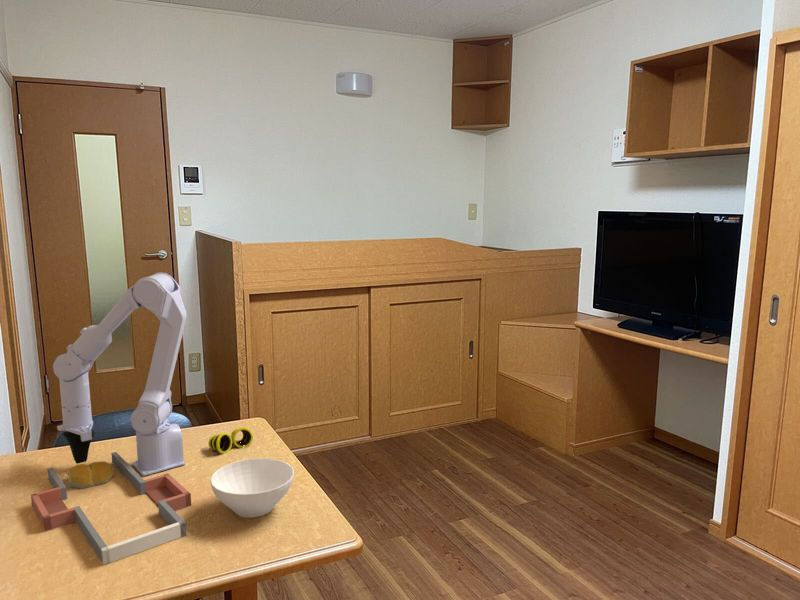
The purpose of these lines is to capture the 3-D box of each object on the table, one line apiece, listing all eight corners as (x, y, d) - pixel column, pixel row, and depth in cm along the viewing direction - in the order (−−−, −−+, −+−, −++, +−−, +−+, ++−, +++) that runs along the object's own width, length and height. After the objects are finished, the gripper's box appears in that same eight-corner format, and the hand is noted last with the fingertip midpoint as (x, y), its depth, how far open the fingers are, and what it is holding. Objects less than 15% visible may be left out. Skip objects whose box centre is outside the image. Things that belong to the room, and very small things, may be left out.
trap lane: (139, 456, 142) (138, 446, 142) (212, 525, 112) (212, 513, 111) (21, 486, 127) (20, 475, 126) (70, 577, 96) (68, 562, 96)
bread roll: (116, 482, 129) (115, 465, 129) (69, 493, 124) (67, 475, 124) (111, 468, 136) (109, 451, 135) (66, 478, 131) (64, 460, 131)
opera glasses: (244, 443, 153) (241, 424, 153) (254, 445, 149) (252, 425, 149) (208, 454, 146) (205, 433, 146) (218, 456, 142) (215, 435, 142)
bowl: (241, 539, 107) (240, 503, 106) (196, 509, 118) (194, 475, 117) (311, 507, 119) (310, 474, 118) (264, 482, 130) (263, 451, 129)
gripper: (48, 399, 136) (53, 456, 139) (64, 416, 126) (69, 477, 128) (82, 393, 141) (87, 448, 143) (100, 409, 130) (104, 468, 132)
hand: (80, 461), depth 136 cm, fingers closed
